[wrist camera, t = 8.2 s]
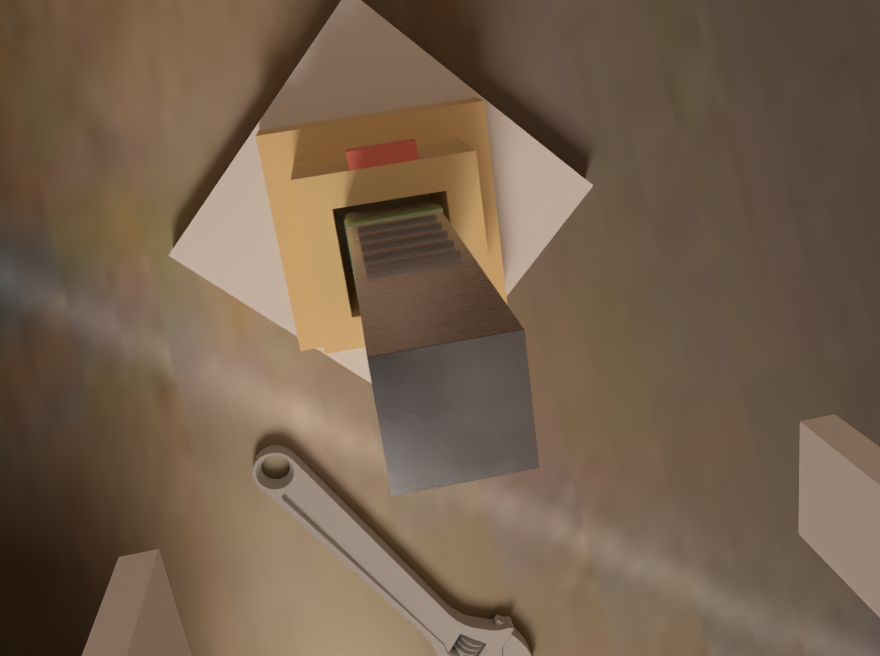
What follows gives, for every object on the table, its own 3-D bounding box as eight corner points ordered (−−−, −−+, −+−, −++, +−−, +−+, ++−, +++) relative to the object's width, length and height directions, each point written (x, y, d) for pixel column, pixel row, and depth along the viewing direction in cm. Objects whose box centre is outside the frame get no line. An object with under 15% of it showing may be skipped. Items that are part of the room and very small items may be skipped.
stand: (220, 436, 48) (200, 521, 40) (115, 23, 41) (63, 22, 32) (598, 366, 50) (655, 434, 42) (568, -40, 42) (630, -58, 34)
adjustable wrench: (242, 458, 50) (239, 473, 48) (329, 397, 49) (330, 410, 48) (473, 710, 58) (477, 730, 57) (549, 660, 58) (556, 679, 56)
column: (358, 300, 39) (389, 499, 22) (342, 209, 37) (362, 350, 21) (447, 285, 39) (542, 469, 22) (434, 194, 37) (526, 321, 21)
